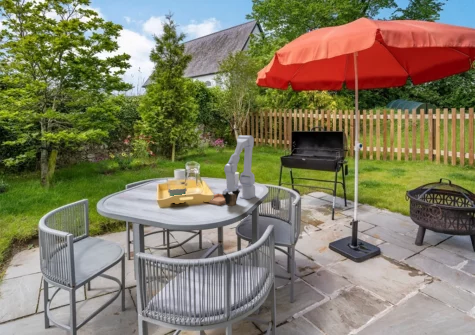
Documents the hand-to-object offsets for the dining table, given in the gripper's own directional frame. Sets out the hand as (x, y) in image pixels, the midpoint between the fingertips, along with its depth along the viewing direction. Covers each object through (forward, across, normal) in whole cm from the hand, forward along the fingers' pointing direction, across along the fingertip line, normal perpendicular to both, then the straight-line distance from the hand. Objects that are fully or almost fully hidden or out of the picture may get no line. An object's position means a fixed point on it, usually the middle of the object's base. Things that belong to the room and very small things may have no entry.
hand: (231, 202), depth 196 cm
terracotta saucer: (+2, +2, +13) cm, 13 cm away
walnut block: (+2, 0, 0) cm, 2 cm away
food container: (+2, -18, +32) cm, 37 cm away
